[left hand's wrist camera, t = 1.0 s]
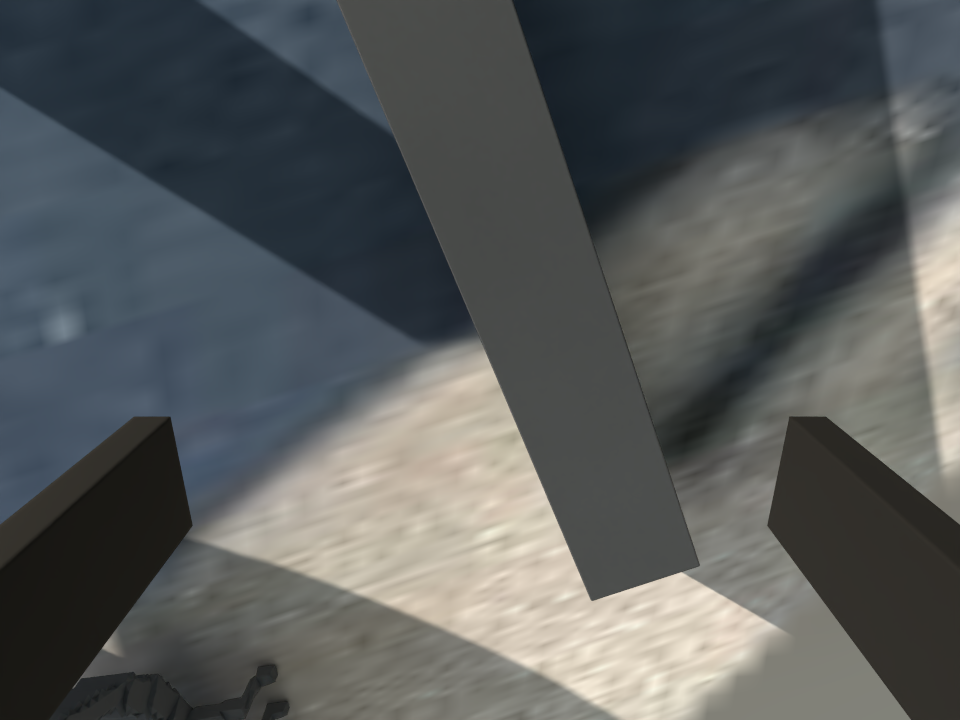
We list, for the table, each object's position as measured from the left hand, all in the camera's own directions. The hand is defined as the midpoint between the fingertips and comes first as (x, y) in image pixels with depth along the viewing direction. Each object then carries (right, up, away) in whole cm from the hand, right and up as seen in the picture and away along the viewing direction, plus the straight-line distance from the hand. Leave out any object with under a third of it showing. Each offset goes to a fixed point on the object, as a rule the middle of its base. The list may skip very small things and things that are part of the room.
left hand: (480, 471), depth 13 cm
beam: (-2, +16, +15) cm, 22 cm away
